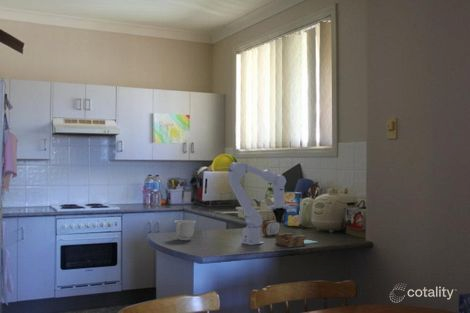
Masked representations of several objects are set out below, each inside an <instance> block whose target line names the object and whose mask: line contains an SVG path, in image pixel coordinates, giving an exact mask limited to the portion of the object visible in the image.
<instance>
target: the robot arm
mask: <svg viewBox="0 0 470 313" xmlns="http://www.w3.org/2000/svg"><path fill="white" fill-rule="evenodd" d="M226 171H227V173H228V175H227V176H228V185H229V186H230V188H231V190H232V192H233V193H234V196H235V198H236V199H237V201H238V202H239V205H240V206H241V208H242V211H243V216H244V221H245V223H246V227H243V228H242V231H241V242H240V243H241V244H245V245H248V246H253V245H260V244H264V241H261V231H262V230H261V228H262V227H261V226H262V225H263V222H264V219H263V216H262V215H261V214H260V213H259V212H258V211H257V210H256V209H255V208H254V206H253V205H252V203H251V200H250V198H249V197H248V196H247V195H248V194H247V193H246V192H245V190H244V188H243V186H242V184H241V180H242V178H243V176H245V174H246V173H247V174H248V173H250V174H253V175H256V176H259V177H260V178H261V180H262V181H265V182H268V183H269V184H272V185H273V204H272V205H268V206H267V210H268V211H272V212H273V214H274V217H275V221H277V223H280V224H281V223H282V220H283V218H284V212H285V209H284V208H290V205H288V204H286V205H284V192H285V185H286V184H287V180H286V176H284V175H283V174H279V173H278V172H273V171H271V169H269V168H268V169H264V170H262V169H260V168H258V167H255V166H253V165H250V164H247V163H244V162H236V161H234V162H231V163H230V164H229V166H228V168H227V170H226Z"/></svg>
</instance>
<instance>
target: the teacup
mask: <svg viewBox="0 0 470 313" xmlns="http://www.w3.org/2000/svg"><path fill="white" fill-rule="evenodd" d="M173 222H174V225H175V231H176V232H175V233H176V235H177V237H178V238H179V240H180V241H189V240H191V237H192V236H193V235H194V230H195V224H196V222H197V221H196V220H193V219H176V220H174V221H173Z"/></svg>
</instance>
